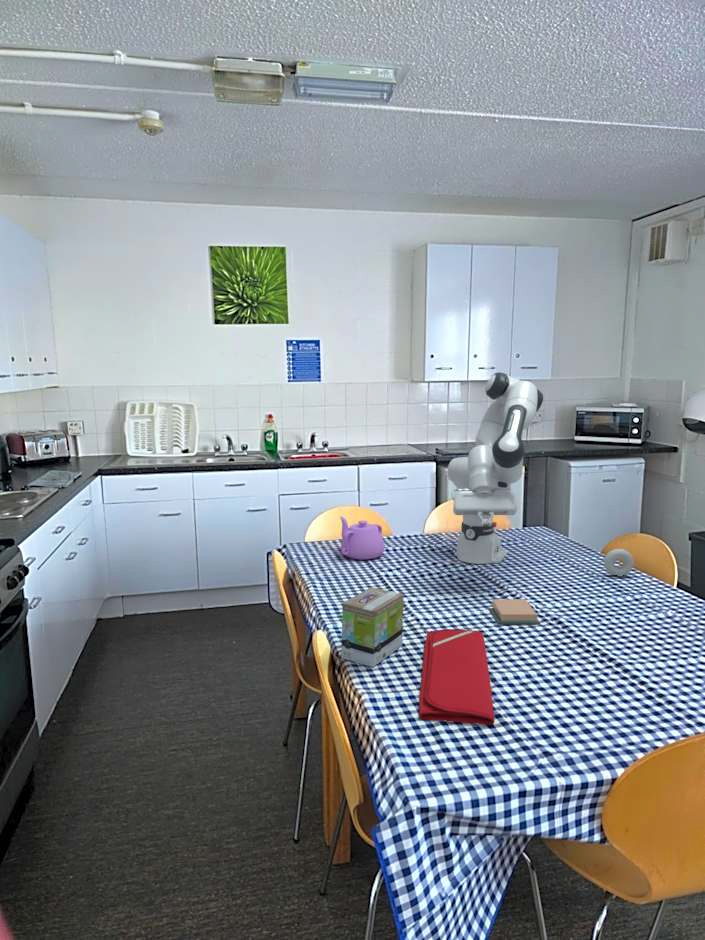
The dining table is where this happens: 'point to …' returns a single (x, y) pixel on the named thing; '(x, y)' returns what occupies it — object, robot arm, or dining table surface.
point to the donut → (616, 554)
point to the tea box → (372, 626)
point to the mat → (509, 622)
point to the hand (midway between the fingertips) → (486, 525)
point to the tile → (514, 610)
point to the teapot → (361, 540)
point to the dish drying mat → (456, 678)
